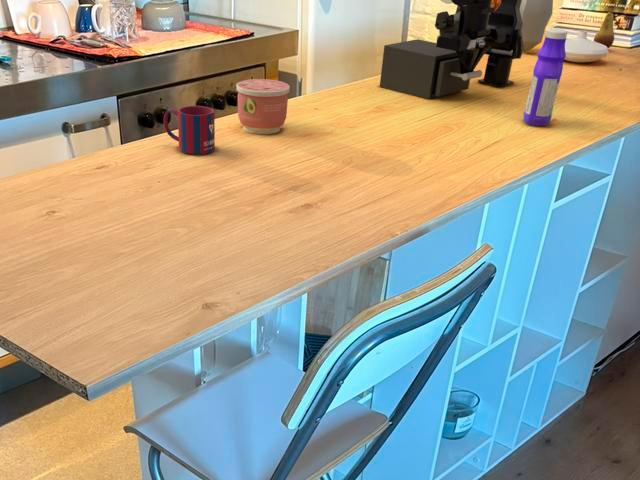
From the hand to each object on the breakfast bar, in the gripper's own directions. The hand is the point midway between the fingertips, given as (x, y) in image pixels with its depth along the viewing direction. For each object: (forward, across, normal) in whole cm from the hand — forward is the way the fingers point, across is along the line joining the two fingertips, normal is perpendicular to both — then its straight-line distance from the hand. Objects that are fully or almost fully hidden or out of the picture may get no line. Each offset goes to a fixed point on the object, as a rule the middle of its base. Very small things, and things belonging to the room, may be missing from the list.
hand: (464, 80), depth 185 cm
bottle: (+4, +4, +22) cm, 23 cm away
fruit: (+4, -83, -9) cm, 84 cm away
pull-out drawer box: (+3, 0, -7) cm, 7 cm away
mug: (+4, +74, -9) cm, 75 cm away
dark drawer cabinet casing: (+4, 0, -12) cm, 12 cm away
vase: (+4, -63, -6) cm, 63 cm away
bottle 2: (+4, -60, -21) cm, 64 cm away
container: (+4, +54, -10) cm, 55 cm away
